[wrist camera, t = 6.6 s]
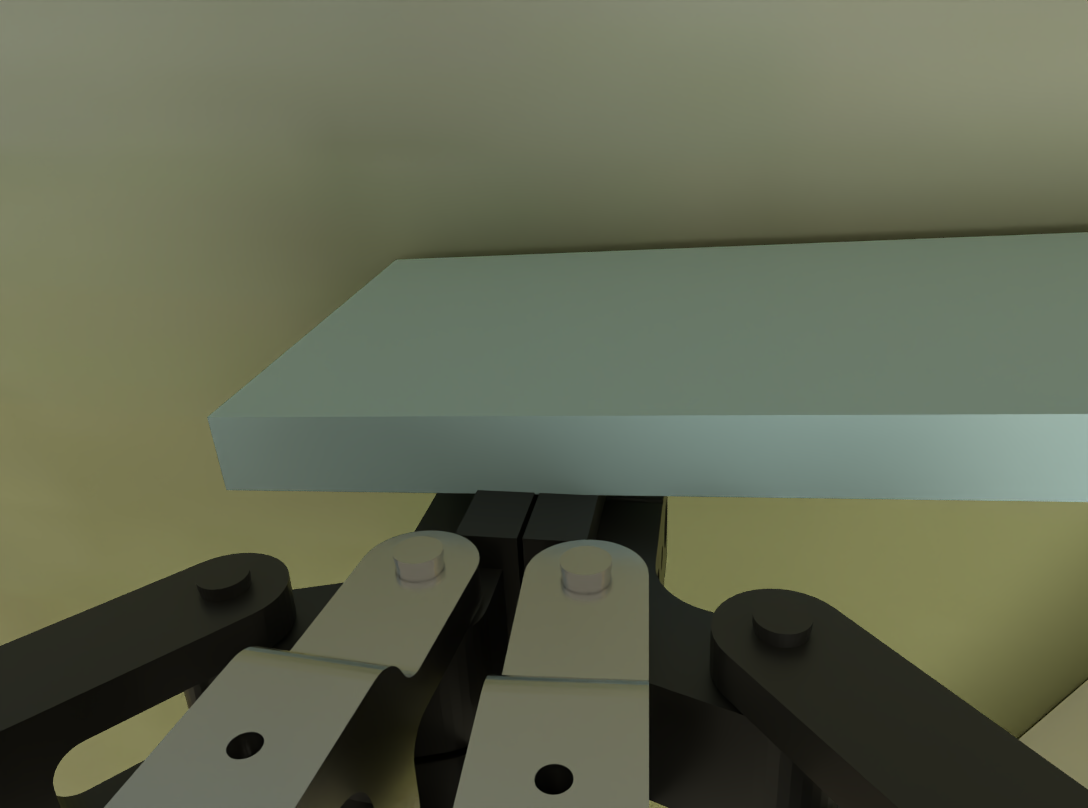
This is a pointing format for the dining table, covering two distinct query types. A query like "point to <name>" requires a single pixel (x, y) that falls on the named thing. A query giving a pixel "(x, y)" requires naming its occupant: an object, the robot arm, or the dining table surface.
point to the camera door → (690, 376)
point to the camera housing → (1064, 736)
